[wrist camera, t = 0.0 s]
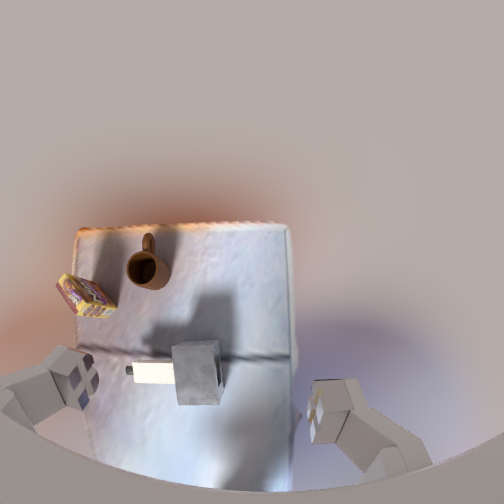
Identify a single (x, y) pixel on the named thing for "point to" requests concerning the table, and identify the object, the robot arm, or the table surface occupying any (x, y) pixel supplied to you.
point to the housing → (198, 372)
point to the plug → (152, 371)
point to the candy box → (85, 297)
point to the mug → (148, 266)
